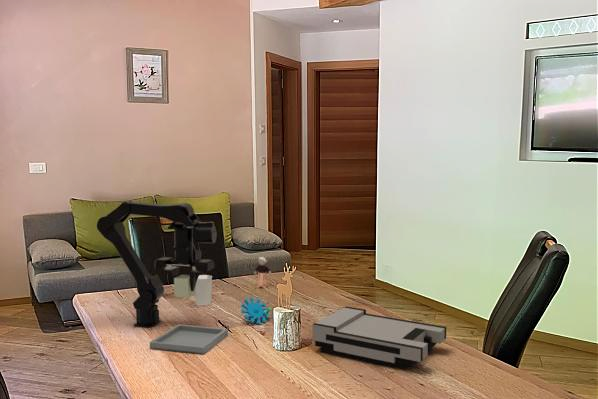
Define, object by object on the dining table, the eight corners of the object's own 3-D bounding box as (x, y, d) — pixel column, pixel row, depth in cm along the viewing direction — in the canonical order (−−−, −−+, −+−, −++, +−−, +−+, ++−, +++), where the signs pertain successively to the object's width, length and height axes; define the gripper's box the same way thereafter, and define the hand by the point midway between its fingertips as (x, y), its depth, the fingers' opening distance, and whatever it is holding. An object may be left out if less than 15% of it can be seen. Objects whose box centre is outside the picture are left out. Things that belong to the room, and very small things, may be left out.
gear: (246, 322, 186) (239, 296, 192) (239, 332, 190) (233, 305, 196) (276, 321, 192) (268, 296, 197) (269, 330, 195) (262, 305, 201)
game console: (420, 375, 148) (420, 344, 147) (312, 352, 165) (312, 324, 164) (445, 350, 166) (446, 322, 165) (346, 331, 183) (346, 306, 182)
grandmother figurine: (252, 288, 236) (251, 257, 235) (254, 285, 240) (254, 255, 238) (270, 288, 235) (270, 258, 233) (272, 286, 238) (272, 256, 237)
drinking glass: (216, 302, 215) (215, 276, 214) (204, 307, 210) (203, 280, 209) (202, 300, 219) (202, 274, 218) (190, 304, 213) (189, 277, 212)
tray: (150, 348, 168) (149, 342, 168) (178, 330, 184) (178, 324, 184) (203, 354, 163) (203, 347, 163) (227, 335, 179) (227, 328, 179)
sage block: (174, 296, 186) (174, 278, 185) (182, 292, 191) (181, 274, 190) (188, 297, 185) (188, 279, 184) (195, 293, 189) (195, 275, 189)
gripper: (220, 239, 191) (222, 286, 193) (170, 237, 196) (171, 282, 198) (206, 245, 180) (207, 294, 182) (152, 243, 186) (154, 290, 187)
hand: (185, 290), depth 188 cm, fingers closed on sage block, 5 cm apart
